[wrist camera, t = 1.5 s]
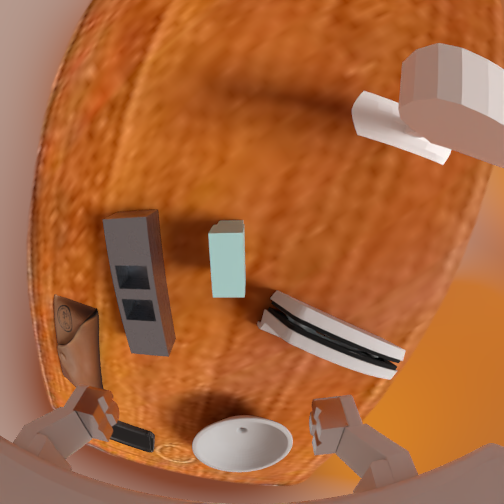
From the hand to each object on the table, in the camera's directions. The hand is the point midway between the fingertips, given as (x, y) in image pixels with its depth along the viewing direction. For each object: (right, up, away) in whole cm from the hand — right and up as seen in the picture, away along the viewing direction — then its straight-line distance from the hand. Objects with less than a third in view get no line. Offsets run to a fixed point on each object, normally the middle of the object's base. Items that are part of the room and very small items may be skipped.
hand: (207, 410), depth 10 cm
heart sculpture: (+18, +19, +16) cm, 31 cm away
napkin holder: (+11, -2, +24) cm, 26 cm away
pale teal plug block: (0, +7, +20) cm, 21 cm away
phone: (-24, -27, +32) cm, 49 cm away
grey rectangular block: (-10, +3, +21) cm, 24 cm away
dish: (0, -21, +30) cm, 37 cm away
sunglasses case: (-24, -8, +26) cm, 36 cm away
